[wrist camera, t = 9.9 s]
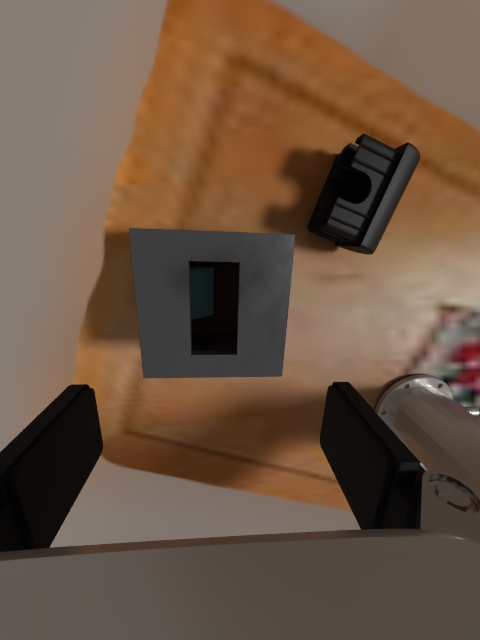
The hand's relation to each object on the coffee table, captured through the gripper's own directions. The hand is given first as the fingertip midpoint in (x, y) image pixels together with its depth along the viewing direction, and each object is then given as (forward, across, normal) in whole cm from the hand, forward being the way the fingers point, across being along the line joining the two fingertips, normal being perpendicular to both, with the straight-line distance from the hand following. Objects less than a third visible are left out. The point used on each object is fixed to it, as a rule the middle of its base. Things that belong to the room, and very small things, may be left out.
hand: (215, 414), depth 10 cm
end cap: (+25, -16, -11) cm, 31 cm away
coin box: (+24, 0, 0) cm, 24 cm away
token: (+21, +4, +3) cm, 22 cm away
